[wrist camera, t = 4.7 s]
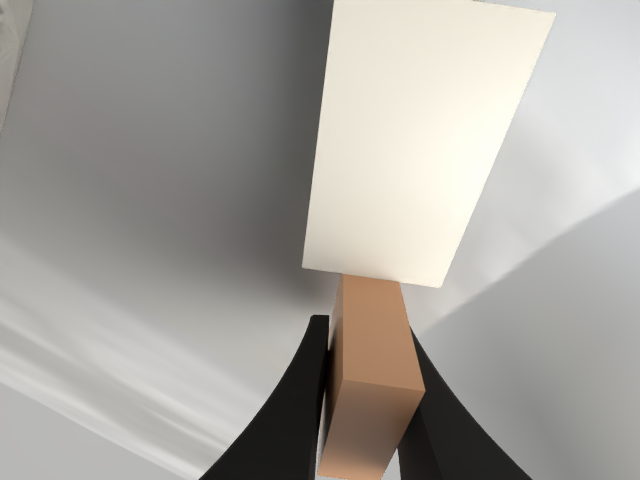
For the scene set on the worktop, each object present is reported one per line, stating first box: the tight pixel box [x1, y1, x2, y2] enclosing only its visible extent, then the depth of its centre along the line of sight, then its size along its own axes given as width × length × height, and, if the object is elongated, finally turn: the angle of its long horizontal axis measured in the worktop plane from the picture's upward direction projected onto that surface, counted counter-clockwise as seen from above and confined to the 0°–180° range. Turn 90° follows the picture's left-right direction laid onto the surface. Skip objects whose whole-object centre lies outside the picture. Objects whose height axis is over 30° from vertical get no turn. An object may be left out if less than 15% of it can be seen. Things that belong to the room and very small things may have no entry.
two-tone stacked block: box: [302, 0, 557, 480], centre depth 9 cm, size 5×13×5 cm, turn 173°
